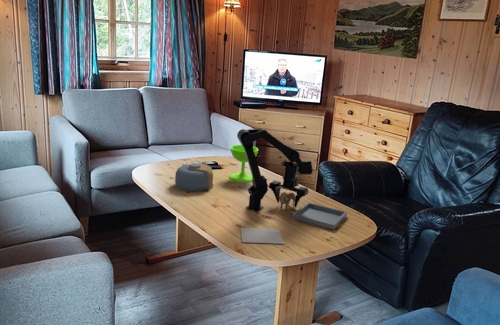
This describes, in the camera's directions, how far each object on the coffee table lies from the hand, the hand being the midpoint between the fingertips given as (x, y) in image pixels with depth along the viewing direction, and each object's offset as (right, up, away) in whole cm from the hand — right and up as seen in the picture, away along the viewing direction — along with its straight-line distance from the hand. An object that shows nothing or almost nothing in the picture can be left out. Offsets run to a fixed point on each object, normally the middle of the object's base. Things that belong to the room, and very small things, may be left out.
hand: (286, 204), depth 218 cm
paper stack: (-10, -9, -29) cm, 32 cm away
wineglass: (-22, +11, +41) cm, 48 cm away
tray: (+15, -5, -9) cm, 18 cm away
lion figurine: (0, -2, +1) cm, 2 cm away
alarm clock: (-48, +8, +21) cm, 53 cm away
